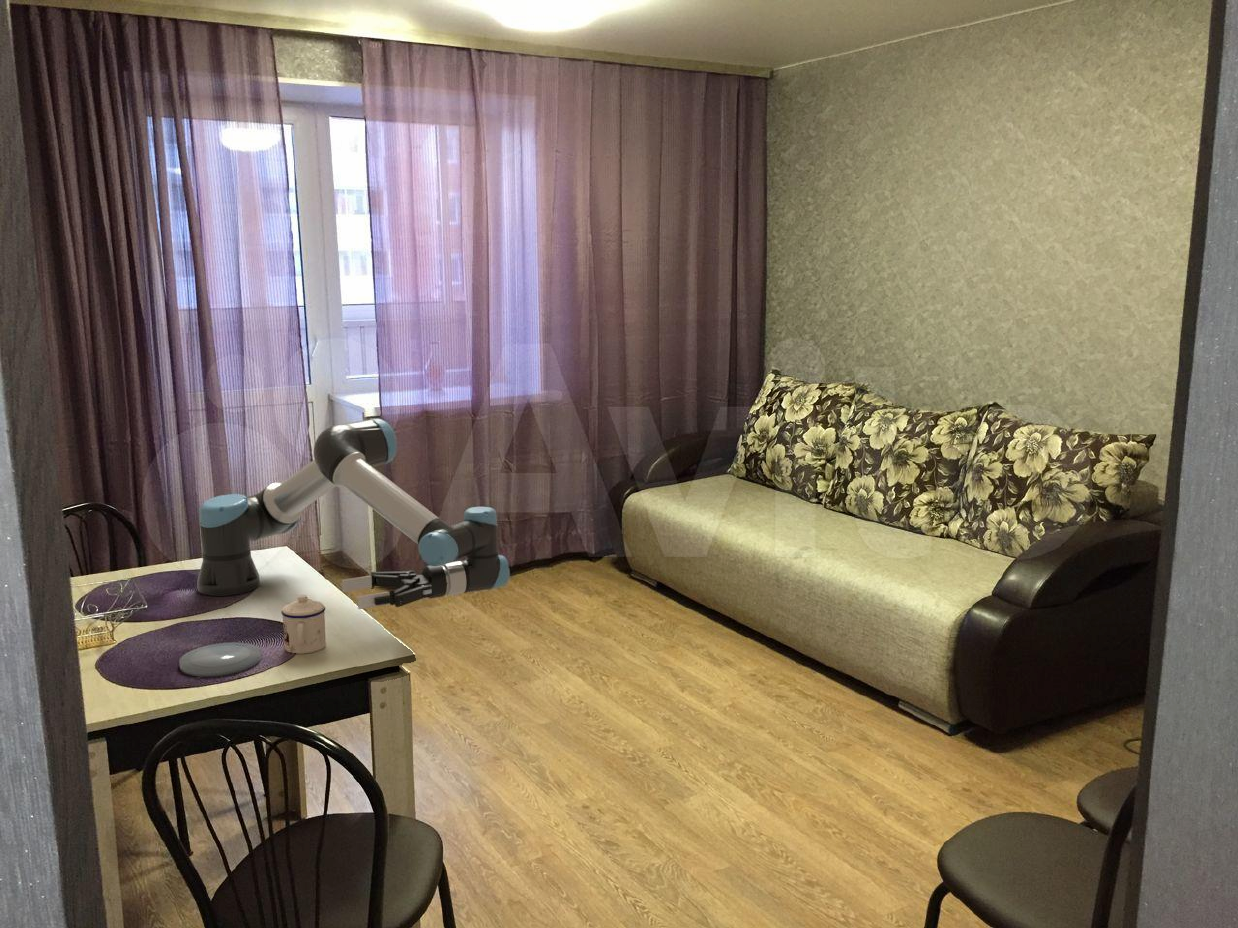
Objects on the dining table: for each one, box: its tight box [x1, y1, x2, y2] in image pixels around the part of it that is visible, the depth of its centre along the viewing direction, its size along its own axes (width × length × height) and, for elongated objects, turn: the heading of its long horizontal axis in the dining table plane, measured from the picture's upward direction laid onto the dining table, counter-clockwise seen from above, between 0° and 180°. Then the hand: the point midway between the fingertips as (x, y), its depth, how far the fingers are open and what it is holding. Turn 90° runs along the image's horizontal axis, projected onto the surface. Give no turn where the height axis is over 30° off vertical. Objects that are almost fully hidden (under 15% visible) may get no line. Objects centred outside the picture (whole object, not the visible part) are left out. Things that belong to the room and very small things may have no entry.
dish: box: [178, 641, 262, 678], centre depth 216 cm, size 16×16×1 cm
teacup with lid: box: [280, 594, 327, 655], centre depth 222 cm, size 12×9×12 cm
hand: (350, 594), depth 225 cm, fingers open, 13 cm apart
